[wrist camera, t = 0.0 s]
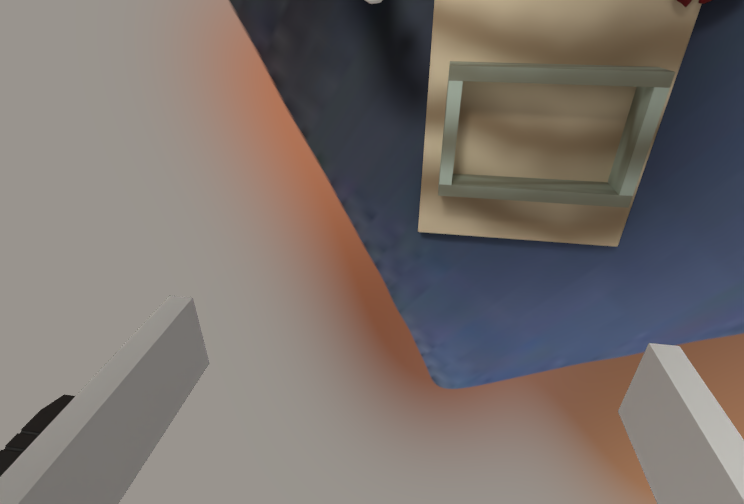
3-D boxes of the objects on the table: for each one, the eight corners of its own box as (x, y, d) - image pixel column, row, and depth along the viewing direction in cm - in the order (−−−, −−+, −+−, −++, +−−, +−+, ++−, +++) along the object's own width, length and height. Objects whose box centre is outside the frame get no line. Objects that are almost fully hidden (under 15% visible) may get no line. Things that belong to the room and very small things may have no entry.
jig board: (435, -15, 32) (435, -17, 28) (698, -14, 29) (732, -16, 26) (418, 226, 42) (416, 246, 38) (612, 240, 40) (628, 262, 36)
